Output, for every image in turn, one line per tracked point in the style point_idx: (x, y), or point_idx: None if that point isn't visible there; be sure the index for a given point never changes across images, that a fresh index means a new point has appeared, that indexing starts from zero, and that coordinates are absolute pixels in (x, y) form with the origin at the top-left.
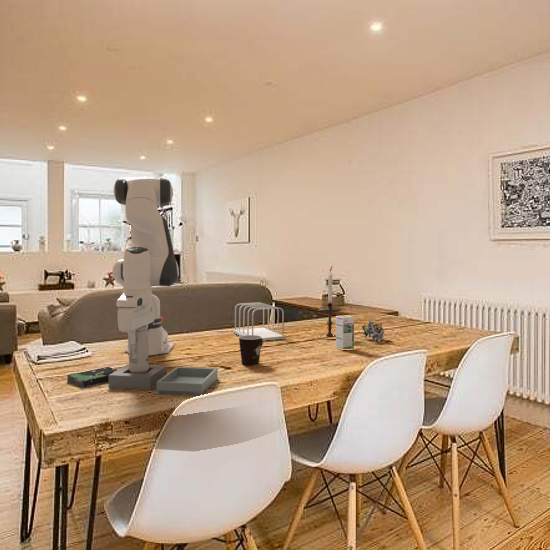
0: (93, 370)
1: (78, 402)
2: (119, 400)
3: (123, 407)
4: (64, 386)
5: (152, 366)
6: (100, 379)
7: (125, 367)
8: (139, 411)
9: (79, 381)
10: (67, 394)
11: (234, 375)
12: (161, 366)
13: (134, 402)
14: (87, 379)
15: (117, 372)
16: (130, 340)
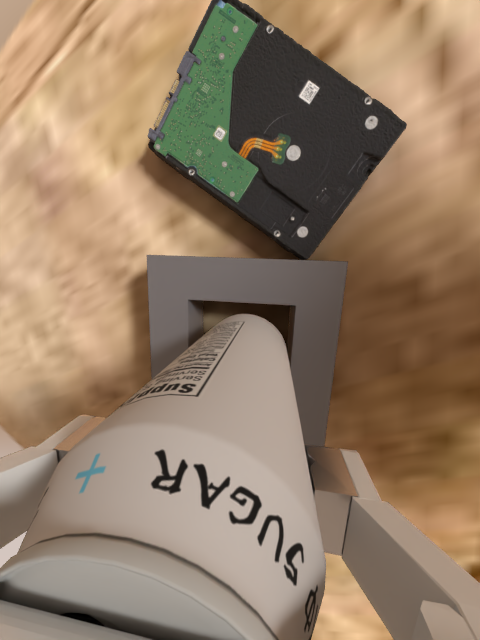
0: (322, 81)
1: (23, 234)
2: (68, 345)
3: (26, 375)
4: (157, 62)
5: (310, 392)
6: (212, 193)
7: (282, 275)
8: (15, 420)
9: (159, 118)
10: (76, 146)
11: (354, 601)
12: (312, 429)
13: (65, 389)
14: (168, 149)
15: (192, 275)
16: (61, 437)
